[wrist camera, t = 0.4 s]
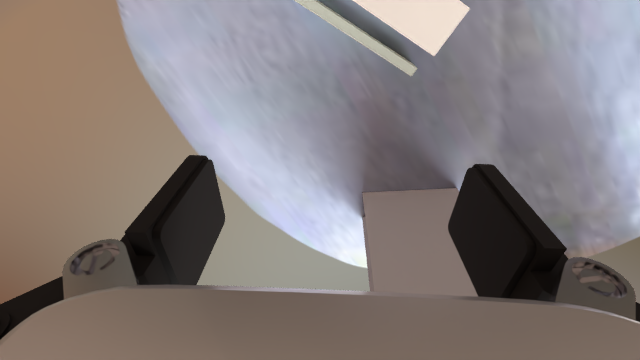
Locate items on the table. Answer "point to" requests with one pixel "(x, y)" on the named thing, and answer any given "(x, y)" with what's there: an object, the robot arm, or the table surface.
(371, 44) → the rack
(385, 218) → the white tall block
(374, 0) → the cream rectangular block
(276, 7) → the table surface
